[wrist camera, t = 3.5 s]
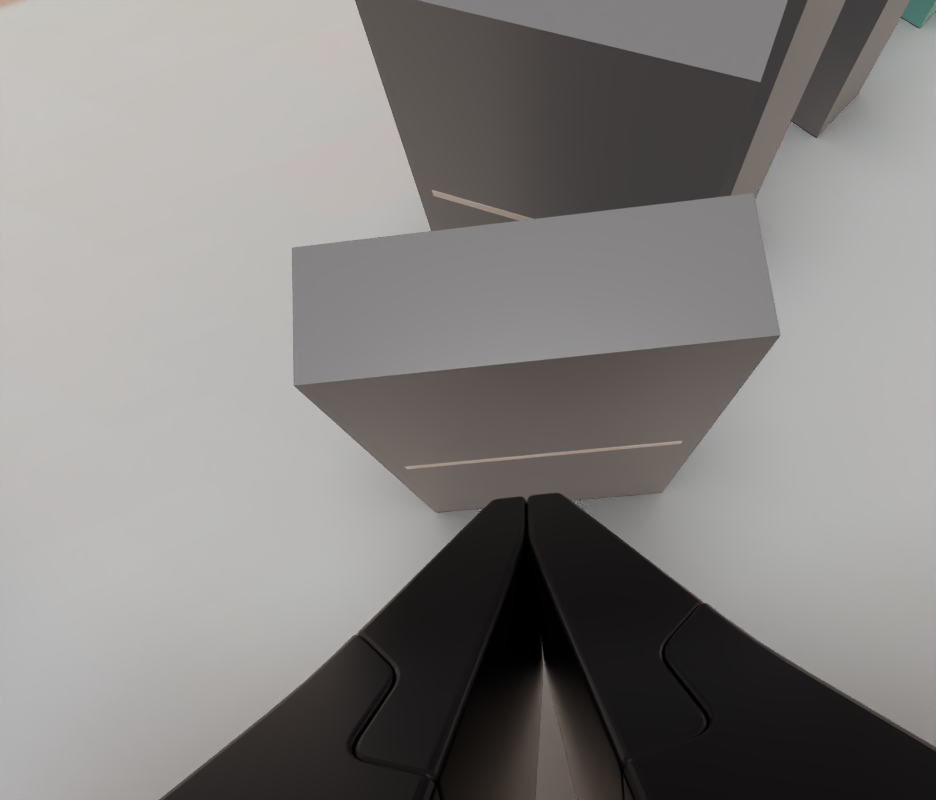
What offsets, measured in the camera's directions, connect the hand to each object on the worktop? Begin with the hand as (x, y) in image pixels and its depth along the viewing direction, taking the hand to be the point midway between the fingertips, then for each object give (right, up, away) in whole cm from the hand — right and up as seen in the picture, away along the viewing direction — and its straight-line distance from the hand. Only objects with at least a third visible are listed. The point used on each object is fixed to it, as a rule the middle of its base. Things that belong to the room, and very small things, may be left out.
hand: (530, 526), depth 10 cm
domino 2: (+1, 0, +8) cm, 8 cm away
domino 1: (+2, +4, +9) cm, 10 cm away
